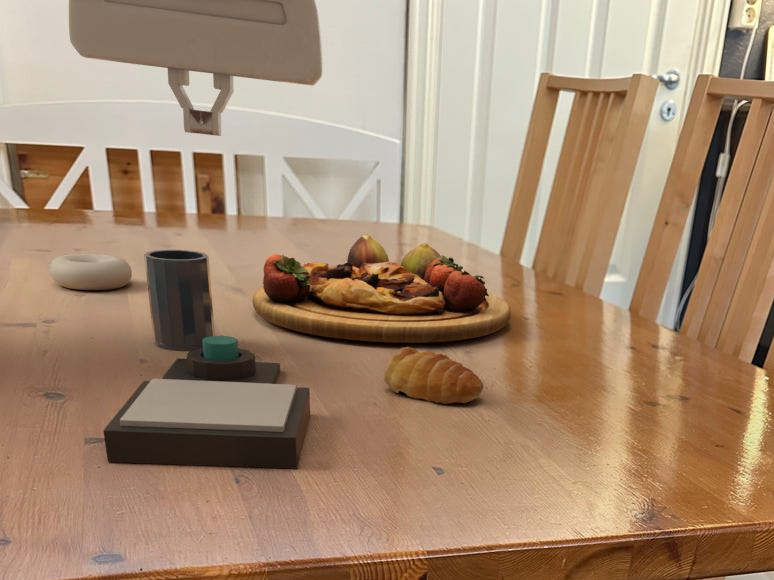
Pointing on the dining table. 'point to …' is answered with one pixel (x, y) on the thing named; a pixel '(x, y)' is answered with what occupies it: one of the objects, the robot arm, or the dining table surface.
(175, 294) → the cup
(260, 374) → the pad
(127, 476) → the dining table surface
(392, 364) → the pastry
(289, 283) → the wooden plate
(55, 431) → the dining table surface
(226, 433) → the scale
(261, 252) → the dining table surface
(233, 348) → the tare button
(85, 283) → the donut
